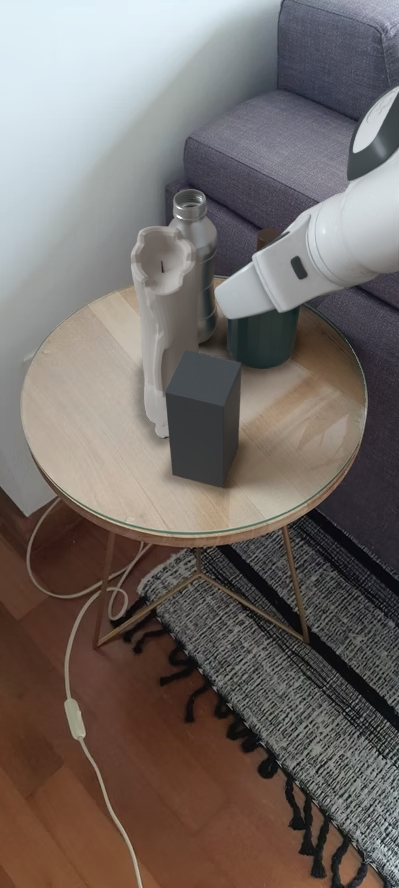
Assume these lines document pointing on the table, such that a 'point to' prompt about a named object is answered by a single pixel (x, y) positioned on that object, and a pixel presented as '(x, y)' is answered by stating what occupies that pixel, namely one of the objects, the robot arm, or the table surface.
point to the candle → (164, 311)
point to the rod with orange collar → (266, 237)
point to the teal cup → (263, 337)
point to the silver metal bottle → (199, 254)
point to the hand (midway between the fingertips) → (261, 277)
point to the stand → (204, 417)
